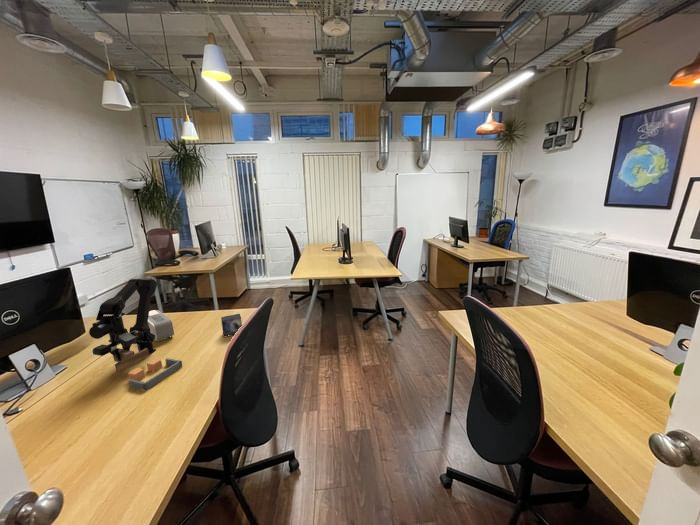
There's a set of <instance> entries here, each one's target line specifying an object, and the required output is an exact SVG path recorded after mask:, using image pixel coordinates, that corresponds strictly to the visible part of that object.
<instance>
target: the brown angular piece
mask: <svg viewBox="0 0 700 525" xmlns="http://www.w3.org/2000/svg"><path fill="white" fill-rule="evenodd" d="M118 348H119V347H118ZM119 355H120V359H121V361H118V360H117V359H116V358H115V357H114V356H113V355H112V357H113V362H116V363H114V366H115V371H116V372H117V373H118V372H121V371H123V370H125V369H127V368H129V367H131V366H132V365H134V364H135V363H138V362H140V361H141V360H143V359H145V358H147V357H149V356H150V354H149V351H148V349H147V348H145V349H143V350H141V351H138V352H136V353H135V351H134V350H125V349H123V348H119Z"/></svg>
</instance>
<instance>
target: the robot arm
mask: <svg viewBox="0 0 700 525" xmlns="http://www.w3.org/2000/svg"><path fill="white" fill-rule="evenodd" d="M157 286H158V282H157V281H156V280H155V279H154V278H152V279H151V278H150V279H149V278H147V279H142V278H131V279H129V280H128V281H127V283H126V284H125V285H124V286H123V287H122V288H121V289H120V291H118V292H117V293H116V294H115V296H113V297H111V298H108V299H106V300H105V301H104V302H102V303H101V304H100V306H99V309H98V312H97V316H96V318H95V321H96V322H93V323H92V324H91V325H92V326H91V327H90V328H89V330H88V334H89V335H90V337H91V338H93V339H96V340H99V339H102V338H103V337H105V336H106V335H108V336H109V340H108V342H109V344H100V345H98V346H95V347H93V349H92V354H93V355H96V356H99V357H103V356H106V355H108V354H109V353H110V354H111V355H112V357H113V356H114V357H115V358H116V359H117V360H118V361H121V359H120V355H119V347H118V345H120V346H121V347H122V348H121V349H125V350H130V349H131V347H132V345H135V344H136V345H137V351H138V352H139V351H141V350H143V349H145V348H147V349H148V351H149V355H150V354H152V353H153V352H155V351H157V348H154V347H153V342H155V341H154V340H155V335H154V334H152V333H150V327H149V326H148V316H149V311H150V306H151V299H152V296H153V295H154V294H155V292H156V291H157ZM136 291H137V293H138V295H139V297H138V298H139V299H138V305H137V313H136V318H135V323H134V325H133V326H130V328H129V332H128V329H127V328H125V325H124V320H123V316H125V315H126V313H124V312H123V311H124V309H125V307H126V303H127V301H128V300H129V299H130V298H131V297H132V295H133V294H134V293H135V292H136ZM130 351H131V350H130Z"/></svg>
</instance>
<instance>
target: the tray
mask: <svg viewBox="0 0 700 525" xmlns="http://www.w3.org/2000/svg"><path fill="white" fill-rule="evenodd" d="M164 360H165V365H166V366H169V367H167V368H166V369H164V370H163V371H161V372H159V373H158V374H156V375H154V376H152V377H151V378H150V379H148V380H146V381H141V380H140V381H136V380H132V379H131V380H128V384H129V387H130V388H134V389H136V390H142V391H147V390H149V389H150V388H152V387H154V386H155V385H157V384H158V383H159V382H161V381H162V380H165V378H167V377H169V376H170V375H172V374H174V373H175V372H176V371H178V370H179V369H181V368H182V367H183V362H182V360H179V359H175V358H169V357H168V358H167V357H166V358H165V359H164Z"/></svg>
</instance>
